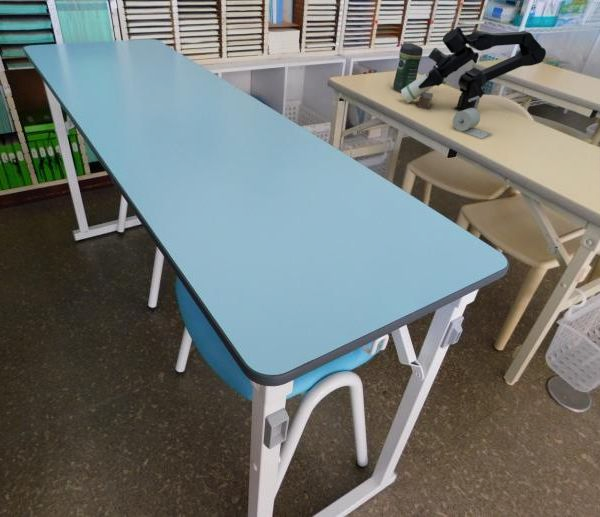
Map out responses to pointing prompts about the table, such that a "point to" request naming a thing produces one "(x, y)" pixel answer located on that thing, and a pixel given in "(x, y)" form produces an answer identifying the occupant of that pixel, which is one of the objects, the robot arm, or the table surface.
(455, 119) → the toilet paper roll
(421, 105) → the wooden block
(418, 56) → the coffee jar
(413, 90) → the cylindrical container with lid
